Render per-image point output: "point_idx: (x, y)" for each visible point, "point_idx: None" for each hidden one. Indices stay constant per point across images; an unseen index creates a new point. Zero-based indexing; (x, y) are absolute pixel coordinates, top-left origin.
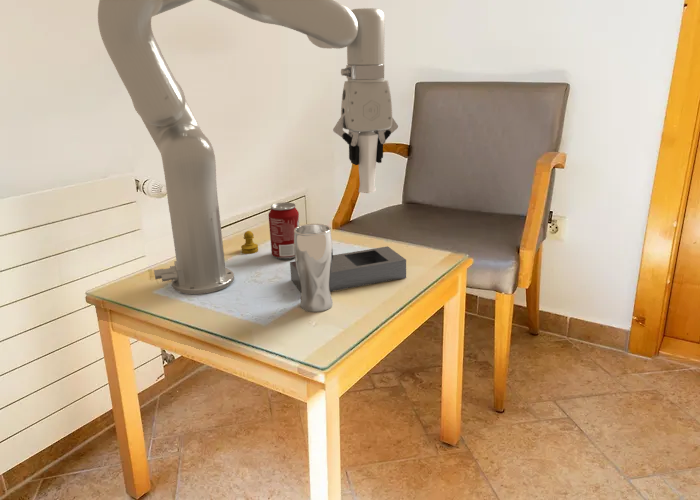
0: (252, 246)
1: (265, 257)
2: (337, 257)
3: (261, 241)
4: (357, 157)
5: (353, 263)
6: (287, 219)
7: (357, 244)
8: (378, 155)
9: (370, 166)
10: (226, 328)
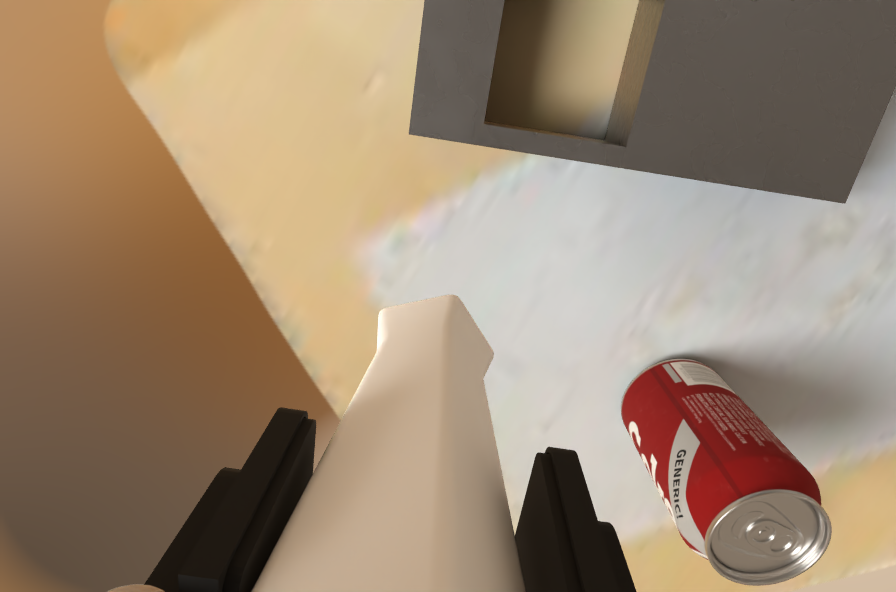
0: None
1: None
2: (665, 138)
3: (654, 546)
4: (575, 501)
5: (658, 25)
6: (769, 449)
7: None
8: (290, 465)
9: (417, 401)
10: None
